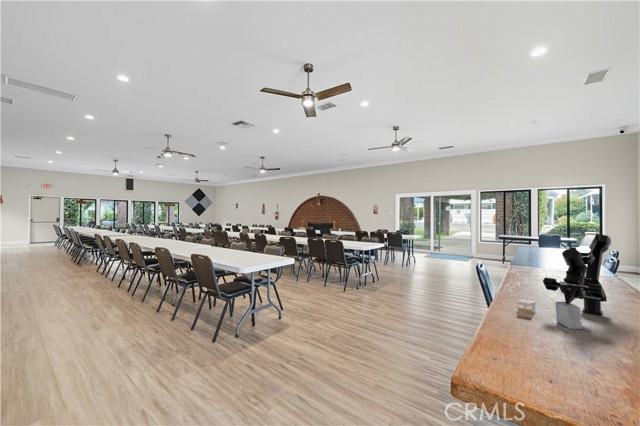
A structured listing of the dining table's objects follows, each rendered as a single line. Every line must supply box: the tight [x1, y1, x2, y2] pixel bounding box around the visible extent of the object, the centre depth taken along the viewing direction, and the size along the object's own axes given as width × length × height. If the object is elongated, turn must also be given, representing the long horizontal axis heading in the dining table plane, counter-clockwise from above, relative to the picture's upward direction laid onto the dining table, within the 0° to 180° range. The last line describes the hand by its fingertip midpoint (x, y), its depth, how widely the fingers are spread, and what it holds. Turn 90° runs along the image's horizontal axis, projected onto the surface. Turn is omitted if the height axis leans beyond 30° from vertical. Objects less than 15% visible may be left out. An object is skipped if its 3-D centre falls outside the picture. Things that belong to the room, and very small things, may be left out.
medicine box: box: [555, 301, 583, 330], centre depth 114 cm, size 8×4×9 cm, turn 168°
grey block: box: [517, 299, 536, 314], centre depth 131 cm, size 5×5×5 cm
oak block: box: [517, 305, 534, 319], centre depth 126 cm, size 5×5×4 cm
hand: (567, 303), depth 114 cm, fingers closed, pressing on medicine box
